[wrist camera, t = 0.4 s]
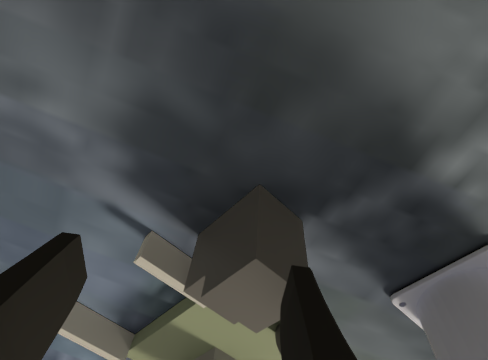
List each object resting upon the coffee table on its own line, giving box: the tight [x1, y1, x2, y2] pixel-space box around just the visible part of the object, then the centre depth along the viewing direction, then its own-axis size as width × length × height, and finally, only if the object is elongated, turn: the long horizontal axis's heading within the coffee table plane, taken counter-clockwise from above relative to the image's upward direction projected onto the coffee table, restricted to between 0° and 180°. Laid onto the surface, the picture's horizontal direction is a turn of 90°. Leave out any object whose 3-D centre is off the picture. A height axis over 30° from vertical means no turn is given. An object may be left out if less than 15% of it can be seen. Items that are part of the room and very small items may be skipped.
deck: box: [58, 231, 282, 360], centre depth 26 cm, size 16×16×6 cm
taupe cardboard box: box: [183, 184, 308, 334], centre depth 21 cm, size 4×6×6 cm, turn 136°
